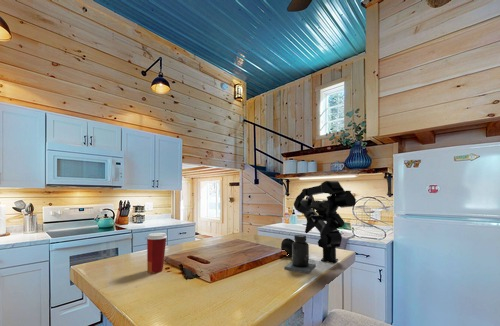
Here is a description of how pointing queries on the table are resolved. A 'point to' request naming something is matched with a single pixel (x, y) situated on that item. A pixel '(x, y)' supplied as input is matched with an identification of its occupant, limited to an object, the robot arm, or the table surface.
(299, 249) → the supplement bottle
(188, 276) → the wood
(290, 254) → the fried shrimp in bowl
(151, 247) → the paper cup
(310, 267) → the mat
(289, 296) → the table surface
